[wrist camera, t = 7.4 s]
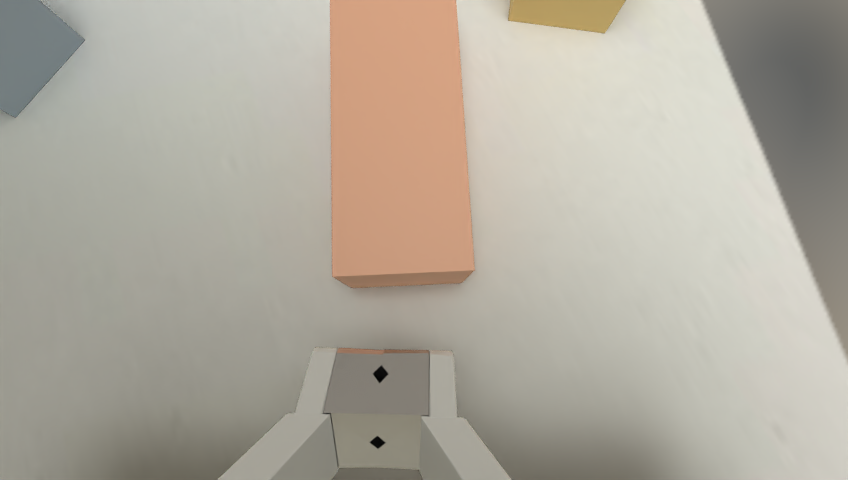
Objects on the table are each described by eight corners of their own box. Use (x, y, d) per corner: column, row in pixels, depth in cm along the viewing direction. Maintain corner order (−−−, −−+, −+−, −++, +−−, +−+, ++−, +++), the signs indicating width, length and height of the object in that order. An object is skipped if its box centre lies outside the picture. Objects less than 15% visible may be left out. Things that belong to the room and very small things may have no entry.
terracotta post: (332, 276, 12) (329, -33, 14) (352, 288, 16) (348, 44, 18) (474, 270, 13) (453, -37, 14) (461, 283, 16) (446, 41, 18)
